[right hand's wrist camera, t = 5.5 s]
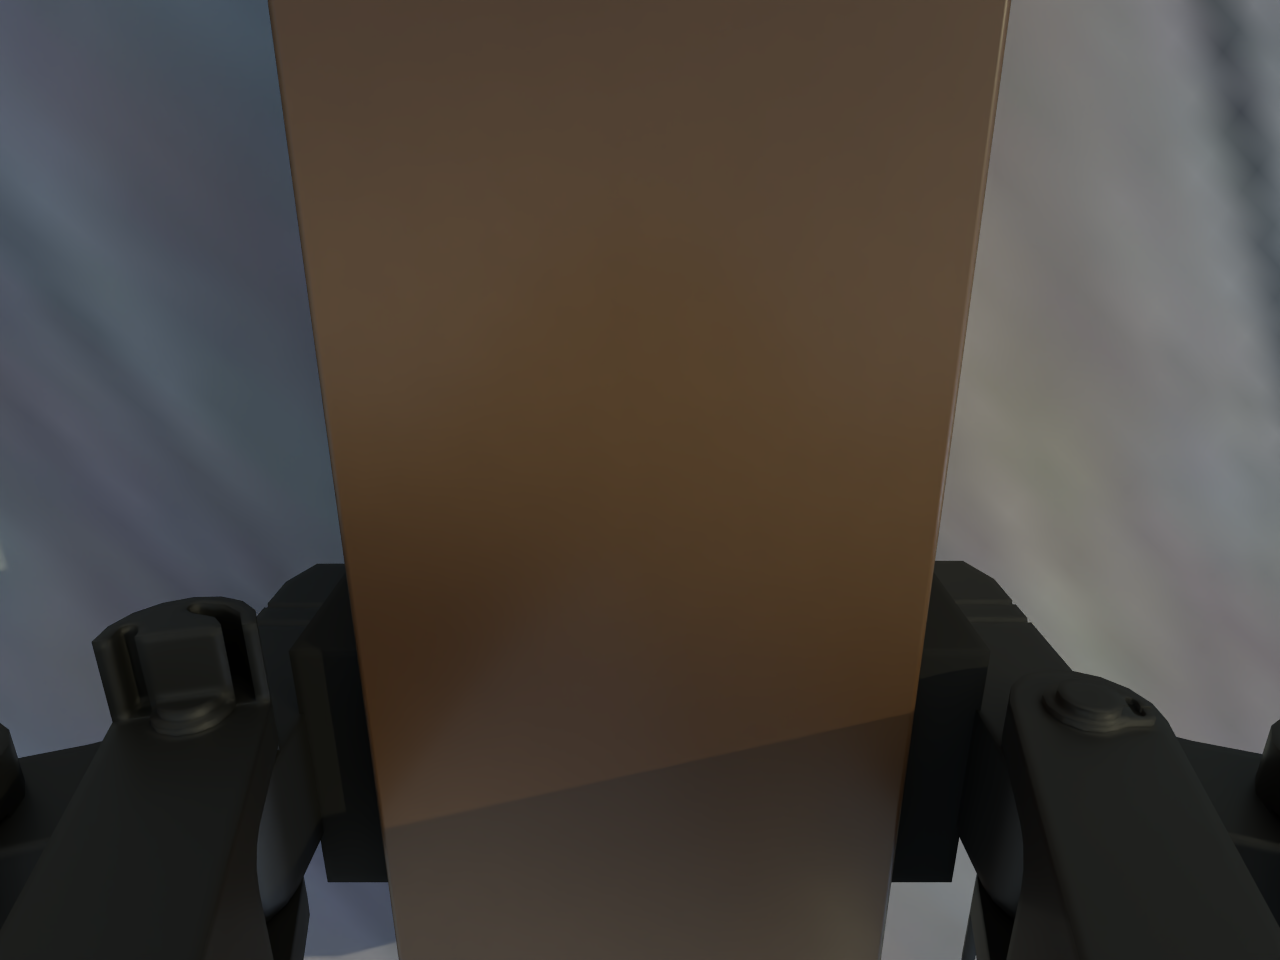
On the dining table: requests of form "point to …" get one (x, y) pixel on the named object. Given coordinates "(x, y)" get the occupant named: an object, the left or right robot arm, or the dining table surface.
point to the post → (639, 445)
